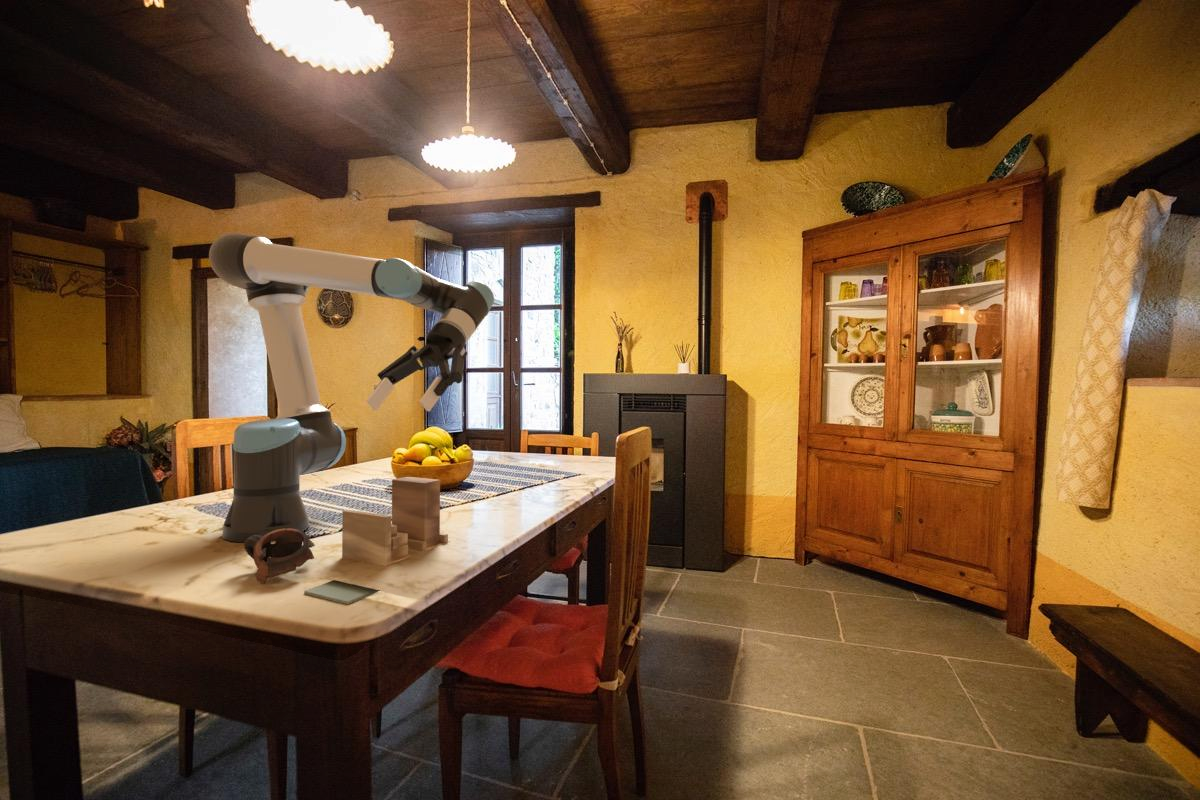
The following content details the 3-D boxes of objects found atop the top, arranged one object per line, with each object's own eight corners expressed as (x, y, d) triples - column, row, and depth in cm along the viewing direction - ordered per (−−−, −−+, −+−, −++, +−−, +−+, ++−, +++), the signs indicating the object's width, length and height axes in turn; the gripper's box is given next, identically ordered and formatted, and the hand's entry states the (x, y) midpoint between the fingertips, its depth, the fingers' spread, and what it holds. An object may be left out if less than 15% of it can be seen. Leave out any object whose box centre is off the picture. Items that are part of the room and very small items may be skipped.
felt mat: (355, 574, 85) (355, 572, 85) (397, 583, 81) (397, 580, 81) (304, 593, 77) (304, 590, 77) (347, 604, 73) (347, 601, 73)
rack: (411, 540, 104) (411, 494, 104) (450, 547, 100) (451, 499, 100) (342, 564, 90) (342, 510, 90) (385, 573, 86) (385, 517, 86)
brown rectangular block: (407, 537, 102) (408, 476, 102) (439, 543, 99) (440, 479, 99) (391, 543, 99) (392, 479, 98) (424, 548, 95) (424, 483, 95)
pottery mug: (329, 566, 91) (327, 531, 87) (291, 609, 82) (286, 573, 78) (265, 546, 91) (260, 510, 87) (221, 587, 83) (213, 550, 79)
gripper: (505, 345, 110) (458, 420, 96) (415, 349, 120) (362, 418, 107) (490, 316, 105) (438, 391, 91) (397, 324, 115) (339, 392, 102)
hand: (396, 406), depth 99 cm, fingers open, 13 cm apart
